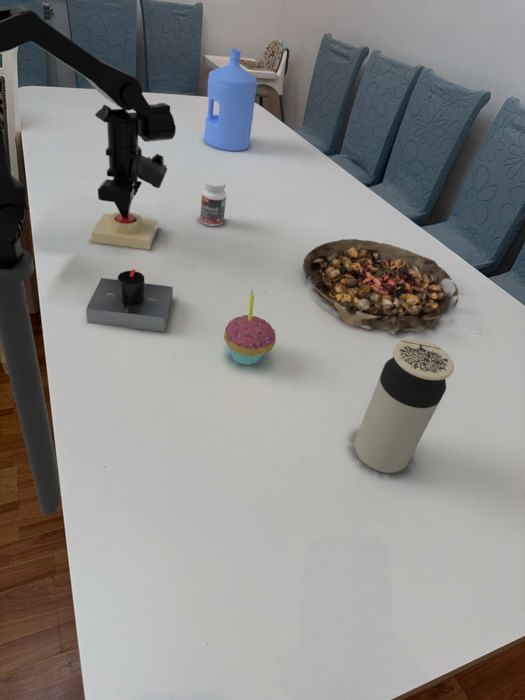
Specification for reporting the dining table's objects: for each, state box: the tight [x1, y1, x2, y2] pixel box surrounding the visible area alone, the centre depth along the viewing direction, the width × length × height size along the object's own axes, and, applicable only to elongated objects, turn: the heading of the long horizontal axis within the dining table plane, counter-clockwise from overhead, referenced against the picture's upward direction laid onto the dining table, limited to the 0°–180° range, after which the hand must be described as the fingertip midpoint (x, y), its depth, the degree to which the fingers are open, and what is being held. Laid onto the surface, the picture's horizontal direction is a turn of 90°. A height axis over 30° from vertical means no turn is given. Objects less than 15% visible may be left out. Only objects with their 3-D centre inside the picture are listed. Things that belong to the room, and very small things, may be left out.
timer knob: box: [117, 268, 145, 304], centre depth 86 cm, size 4×4×4 cm
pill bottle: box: [200, 177, 227, 227], centre depth 119 cm, size 6×6×10 cm
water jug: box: [203, 48, 258, 152], centre depth 161 cm, size 16×16×28 cm
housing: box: [91, 211, 158, 250], centre depth 109 cm, size 12×10×4 cm
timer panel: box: [85, 277, 174, 333], centre depth 88 cm, size 13×10×3 cm
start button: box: [116, 214, 135, 224], centre depth 108 cm, size 4×4×2 cm
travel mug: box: [353, 338, 455, 474], centre depth 66 cm, size 8×8×18 cm
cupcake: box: [223, 289, 277, 366], centre depth 80 cm, size 9×8×12 cm
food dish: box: [302, 238, 459, 335], centre depth 106 cm, size 35×33×8 cm
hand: (125, 217), depth 107 cm, fingers closed, pressing on start button
